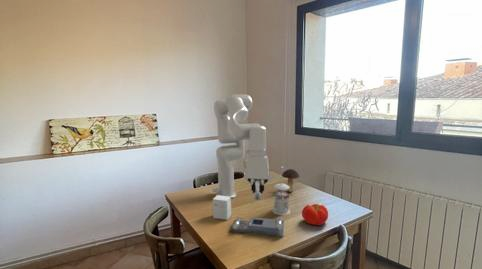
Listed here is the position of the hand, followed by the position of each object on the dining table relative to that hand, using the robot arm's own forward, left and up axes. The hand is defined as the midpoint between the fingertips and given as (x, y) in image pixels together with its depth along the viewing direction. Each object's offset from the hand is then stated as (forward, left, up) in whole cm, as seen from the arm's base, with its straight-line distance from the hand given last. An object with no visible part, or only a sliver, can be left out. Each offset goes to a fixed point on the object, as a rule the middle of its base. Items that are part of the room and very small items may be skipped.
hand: (257, 192), depth 123 cm
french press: (+10, +23, -19) cm, 32 cm away
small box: (-20, +10, -19) cm, 29 cm away
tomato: (+27, +12, -19) cm, 35 cm away
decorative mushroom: (+14, +51, -19) cm, 56 cm away
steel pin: (0, 0, -3) cm, 3 cm away
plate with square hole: (0, 0, -19) cm, 19 cm away
